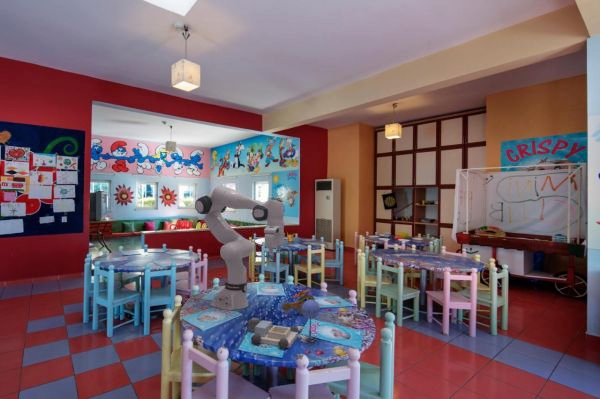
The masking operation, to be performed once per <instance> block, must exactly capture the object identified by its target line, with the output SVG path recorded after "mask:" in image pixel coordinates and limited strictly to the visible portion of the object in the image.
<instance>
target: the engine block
mask: <svg viewBox="0 0 600 399" xmlns="http://www.w3.org/2000/svg"><path fill="white" fill-rule="evenodd" d="M261 321H262V319H259V318H257V317H251V318H250V319H249V320H248V321H247V332H250V333H254V334H255V326H256V325H258V324H259V323H260V322H261Z"/></svg>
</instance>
